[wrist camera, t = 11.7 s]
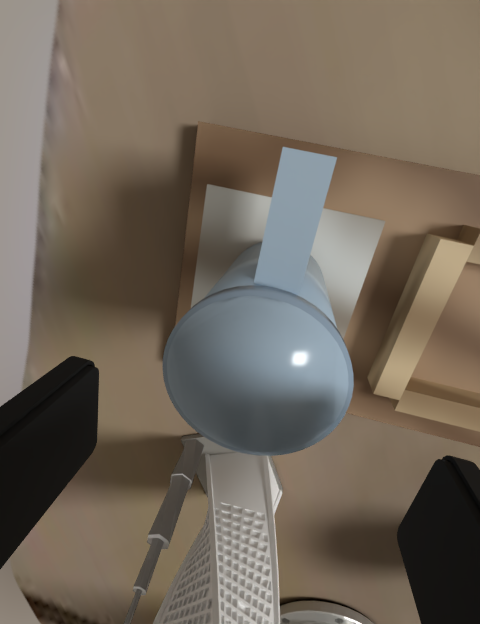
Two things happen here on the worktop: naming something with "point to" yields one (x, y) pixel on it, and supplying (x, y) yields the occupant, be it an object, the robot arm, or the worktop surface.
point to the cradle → (426, 334)
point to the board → (345, 251)
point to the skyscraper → (220, 540)
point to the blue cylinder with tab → (267, 333)
